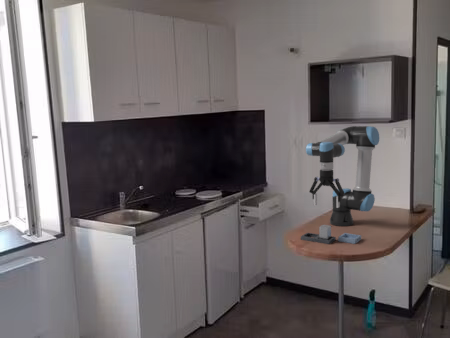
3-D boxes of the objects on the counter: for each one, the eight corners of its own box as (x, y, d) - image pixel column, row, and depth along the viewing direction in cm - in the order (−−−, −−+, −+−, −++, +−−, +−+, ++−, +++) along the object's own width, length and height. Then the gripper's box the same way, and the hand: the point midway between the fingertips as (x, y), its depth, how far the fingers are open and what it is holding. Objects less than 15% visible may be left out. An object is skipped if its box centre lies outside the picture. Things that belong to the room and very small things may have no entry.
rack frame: (307, 235, 275) (307, 232, 275) (335, 240, 264) (335, 237, 264) (300, 239, 268) (300, 236, 268) (329, 244, 257) (329, 240, 257)
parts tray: (344, 237, 270) (344, 232, 270) (361, 239, 264) (361, 235, 264) (338, 241, 262) (338, 237, 262) (354, 244, 257) (355, 239, 256)
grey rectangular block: (323, 239, 267) (323, 224, 266) (331, 240, 264) (331, 225, 263) (319, 241, 263) (319, 226, 262) (327, 242, 260) (327, 227, 259)
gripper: (303, 169, 260) (303, 205, 263) (345, 171, 246) (345, 209, 249) (309, 167, 266) (309, 202, 269) (350, 169, 252) (350, 207, 255)
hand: (326, 206), depth 259 cm, fingers open, 13 cm apart
